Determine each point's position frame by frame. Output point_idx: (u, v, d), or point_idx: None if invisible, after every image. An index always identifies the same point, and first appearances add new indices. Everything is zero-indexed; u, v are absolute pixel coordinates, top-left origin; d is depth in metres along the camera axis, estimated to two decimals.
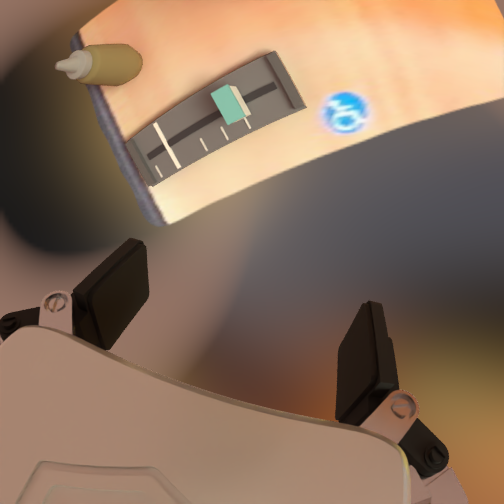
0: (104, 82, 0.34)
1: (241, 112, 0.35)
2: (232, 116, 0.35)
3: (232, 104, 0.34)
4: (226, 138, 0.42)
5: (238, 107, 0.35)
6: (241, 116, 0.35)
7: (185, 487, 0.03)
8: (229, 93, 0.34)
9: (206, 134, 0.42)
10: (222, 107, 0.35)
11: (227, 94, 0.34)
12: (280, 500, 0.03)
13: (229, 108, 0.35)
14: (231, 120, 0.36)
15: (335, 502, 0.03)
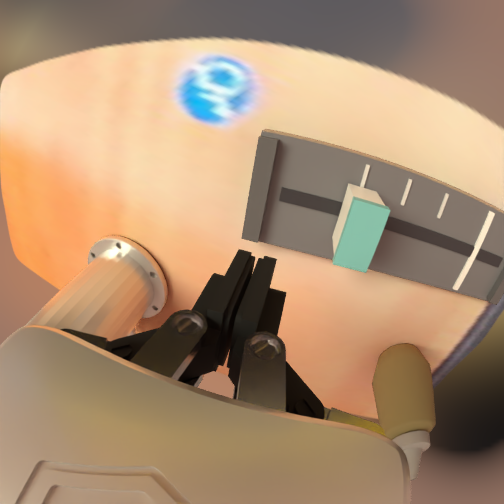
0: (427, 393, 0.24)
1: (353, 209, 0.18)
2: (371, 215, 0.18)
3: (354, 232, 0.19)
4: (410, 183, 0.21)
5: (350, 220, 0.19)
6: (359, 203, 0.18)
7: (185, 487, 0.03)
8: (342, 249, 0.20)
9: (427, 213, 0.22)
10: (371, 241, 0.19)
11: (346, 251, 0.20)
12: (280, 500, 0.03)
13: (363, 230, 0.19)
14: (377, 211, 0.18)
15: (335, 502, 0.03)
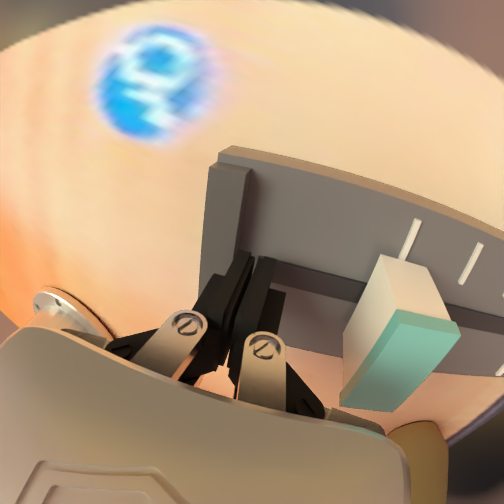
0: (441, 487, 0.14)
1: (394, 338, 0.08)
2: (425, 346, 0.08)
3: (386, 370, 0.09)
4: (480, 249, 0.10)
5: (384, 355, 0.08)
6: (408, 329, 0.08)
7: (185, 487, 0.03)
8: (359, 390, 0.10)
9: (491, 292, 0.11)
10: (413, 379, 0.09)
11: (366, 393, 0.10)
12: (280, 500, 0.03)
13: (403, 367, 0.09)
14: (438, 339, 0.08)
15: (335, 502, 0.03)
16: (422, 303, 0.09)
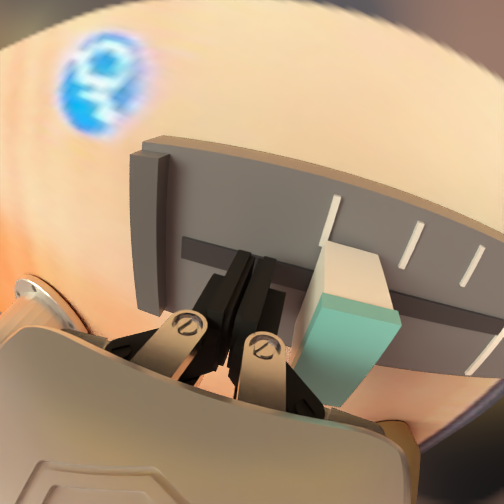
0: None
1: (319, 324, 0.08)
2: (359, 335, 0.08)
3: (320, 360, 0.09)
4: (421, 229, 0.11)
5: (312, 341, 0.09)
6: (333, 314, 0.08)
7: (185, 487, 0.03)
8: None
9: (444, 280, 0.12)
10: (353, 371, 0.09)
11: None
12: (280, 500, 0.03)
13: (338, 357, 0.09)
14: (373, 329, 0.08)
15: (335, 502, 0.03)
16: (359, 289, 0.09)
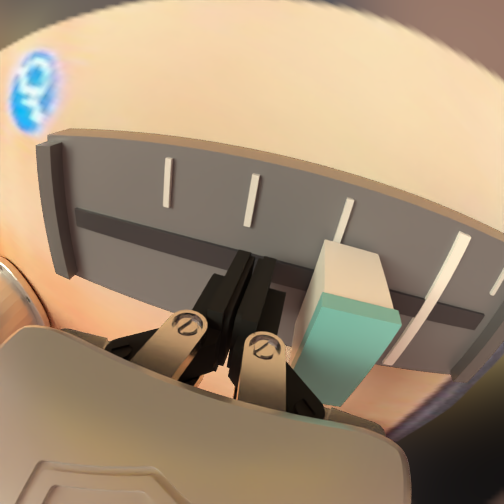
0: None
1: (319, 323, 0.08)
2: (359, 334, 0.08)
3: (320, 359, 0.09)
4: (258, 182, 0.12)
5: (312, 341, 0.09)
6: (333, 313, 0.08)
7: (185, 487, 0.03)
8: None
9: (308, 241, 0.13)
10: (353, 371, 0.09)
11: (304, 382, 0.10)
12: (280, 500, 0.03)
13: (338, 357, 0.09)
14: (373, 327, 0.08)
15: (335, 502, 0.03)
16: (359, 288, 0.09)
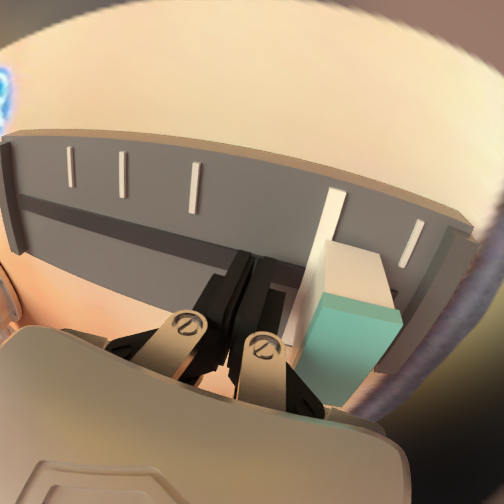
0: None
1: (320, 323, 0.08)
2: (360, 334, 0.08)
3: (321, 359, 0.09)
4: (124, 158, 0.12)
5: (313, 341, 0.09)
6: (333, 314, 0.08)
7: (185, 487, 0.03)
8: None
9: (170, 207, 0.13)
10: (354, 371, 0.09)
11: (305, 383, 0.10)
12: (280, 500, 0.03)
13: (339, 357, 0.09)
14: (374, 328, 0.08)
15: (335, 502, 0.03)
16: (360, 288, 0.09)
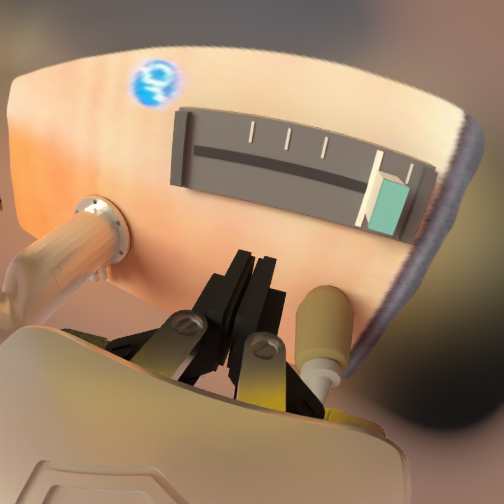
0: (339, 326, 0.32)
1: (384, 186, 0.24)
2: (396, 191, 0.24)
3: (384, 203, 0.25)
4: (290, 131, 0.28)
5: (381, 194, 0.25)
6: (388, 182, 0.24)
7: (185, 487, 0.03)
8: (375, 216, 0.26)
9: (311, 155, 0.29)
10: (396, 210, 0.25)
11: (378, 218, 0.26)
12: (280, 500, 0.03)
13: (390, 202, 0.25)
14: (400, 189, 0.24)
15: (335, 502, 0.03)
16: (393, 180, 0.25)
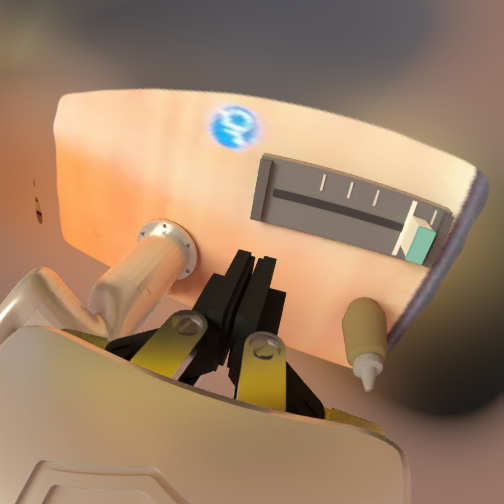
0: (379, 329, 0.41)
1: (419, 232, 0.33)
2: (427, 235, 0.33)
3: (418, 243, 0.34)
4: (352, 184, 0.37)
5: (417, 237, 0.34)
6: (422, 229, 0.33)
7: (185, 487, 0.03)
8: (411, 252, 0.35)
9: (365, 203, 0.38)
10: (425, 248, 0.34)
11: (413, 253, 0.35)
12: (280, 500, 0.03)
13: (422, 242, 0.34)
14: (430, 233, 0.33)
15: (335, 502, 0.03)
16: (425, 226, 0.34)
